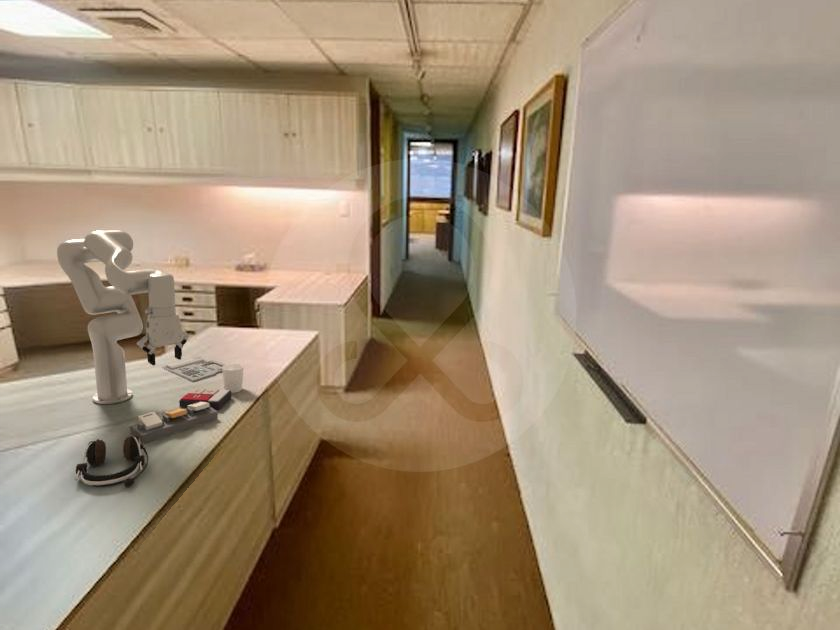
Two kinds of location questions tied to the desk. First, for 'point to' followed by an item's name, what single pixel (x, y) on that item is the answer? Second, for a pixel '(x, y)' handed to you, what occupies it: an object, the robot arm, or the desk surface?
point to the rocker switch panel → (174, 424)
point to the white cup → (233, 377)
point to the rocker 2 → (198, 406)
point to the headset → (97, 456)
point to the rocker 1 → (150, 420)
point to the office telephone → (194, 369)
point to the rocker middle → (175, 413)
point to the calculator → (207, 397)
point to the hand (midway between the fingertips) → (165, 361)
